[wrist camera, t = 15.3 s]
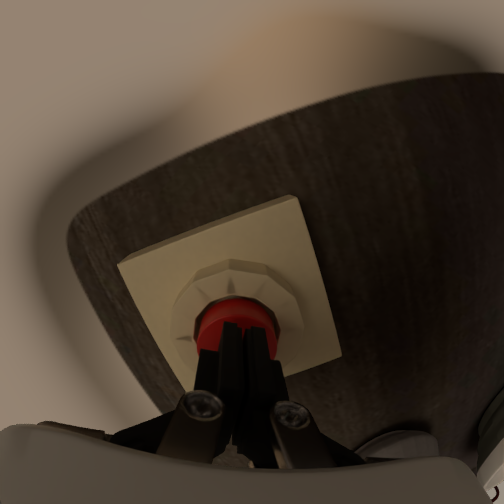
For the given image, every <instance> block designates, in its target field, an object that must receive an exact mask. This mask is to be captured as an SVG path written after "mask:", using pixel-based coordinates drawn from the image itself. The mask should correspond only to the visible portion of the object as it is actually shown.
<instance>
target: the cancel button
mask: <svg viewBox="0 0 504 504" xmlns="http://www.w3.org/2000/svg"><path fill="white" fill-rule="evenodd" d="M224 321H227V322H232V323H237V327H241V328H242V339H243V336H244V332H245V329H246V328H247V329H250V327H251V326H256V327H262V328H265V331H266V337H267V342H268V348H269V353H270V359H272V360H274V359H275V356H276V353H277V340H276V336H275V332H274V328H273V324H272V320H271V318H270V316H269V315H268V313H267V312H266V311H265V310H264V309H263V308H262V307H261V306H260V305H258V304H256V303H254V302H252V301H249V300H245V299H227V300H224V301H221V302H219V303H217V304H215V305H214V306H212V307H211V308H210V309H209V310H208V311H207V312H206V313H205V315H204V317H203V319H202V321H201V326H200V330H199V335H198V339H197V353H198V356H199V354H200V348H202V349H207V350H213V351H218V347H219V342H220V337H221V332H222V327H223V323H224Z"/></svg>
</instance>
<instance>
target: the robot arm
mask: <svg viewBox="0 0 504 504" xmlns="http://www.w3.org/2000/svg"><path fill="white" fill-rule="evenodd" d="M231 434H232V445H235V446H237V453H238V454H243V455H245V456H246V457H247V458H248V459H249V462H248V463H249V468H244V467H232V466H222V465H214V464H212V462H213V459H214V458H215V457H216V456H218V455H220V454H221V453H223V452H224V451H225V448H226V445H228V444H229V441H230V438H231ZM0 504H493V503H492V501H491V499H490V497H489V496H488V494H487V493H486V491H485V489H484V488H483V486H482V484H481V483H480V481H479V480H478V478H477V477H476V476H475V474H474V473H473V472H472V471H471V469H470V468H469V467H468V466H467V465H466V464H465V463H464V462H462V461H461V460H459V459H456V458H452V457H446V456H421V457H412V458H381V457H365V458H364V459H362V458H361V457H360V456H359V455H358V454H356V453H354V452H353V451H351V450H349V449H347V448H346V447H344V446H342V445H340V444H339V443H337V442H335V441H334V440H332V439H330V438H329V437H327V436H325V435H324V434H322V433H320V431H319V429H318V427H317V425H316V423H315V421H314V419H313V417H312V415H311V413H310V412H309V410H308V409H307V408H306V407H304V406H303V405H301V404H299V403H297V402H293V401H289V397H288V392H287V388H286V383H285V379H284V375H283V370H282V366H281V362H280V361H279V360H272V359H270V353H269V348H268V342H267V337H266V331H265V328H262V327H256V326H251V327H250V329H247V328H246V329H245V332H244V336H243V339H242V328H241V327H237V323H232V322H227V321H224V323H223V327H222V332H221V337H220V342H219V347H218V351H213V350H207V349H202V348H200V354H199V360H198V365H197V371H196V377H195V383H194V389H193V391H189V392H187V393H185V394H184V395H183V396H182V397H181V398H180V400H179V403H178V405H177V407H176V409H175V410H173V411H171V412H168V413H166V414H163V415H161V416H159V417H156V418H153V419H151V420H148V421H146V422H143V423H140V424H138V425H135V426H132V427H129V428H127V429H124V430H121V431H119V432H117V433H115V434H114V435H109V434H105V431H102V430H95V429H88V428H83V427H77V426H72V425H66V424H62V423H57V422H53V421H44V422H40V423H38V424H37V425H35V424H16V425H12V426H9V427H7V428H5V429H4V430H2V431H0Z"/></svg>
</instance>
